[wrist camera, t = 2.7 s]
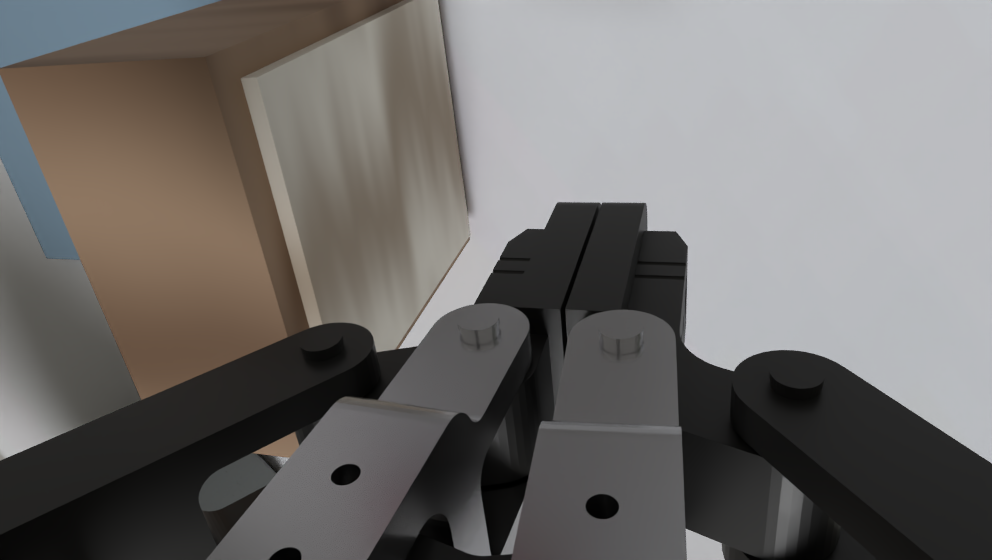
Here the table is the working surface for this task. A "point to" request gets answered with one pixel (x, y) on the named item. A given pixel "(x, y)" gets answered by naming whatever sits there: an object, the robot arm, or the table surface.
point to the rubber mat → (44, 29)
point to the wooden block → (252, 175)
